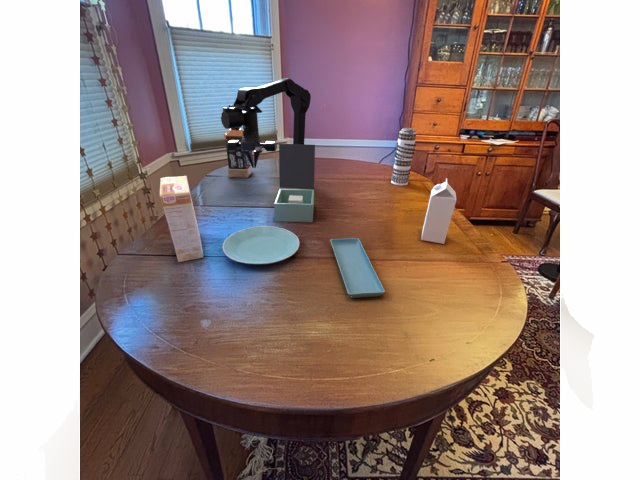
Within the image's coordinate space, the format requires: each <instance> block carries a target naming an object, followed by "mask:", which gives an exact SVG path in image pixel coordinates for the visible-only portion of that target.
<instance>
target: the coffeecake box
mask: <svg viewBox="0 0 640 480" xmlns="http://www.w3.org/2000/svg"><path fill="white" fill-rule="evenodd" d="M159 199H160V201H161V204H162V208H163V212H164V215H165V219H166V222H167V226H168V230H169V233H170V238H171V240H172V244H173V248H174V252H175V255H176V259H177V262H178V263H183V262H188V261H192V260H199V259H204V250H203V245H202V239H201V234H200V229H199V225H198V221H197V217H196V212H195V208H194V203H193V199H192V194H191V190H190V186H189V181H188V176H187V175H179V176H165V177H160V183H159Z"/></svg>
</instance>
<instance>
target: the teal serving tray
mask: <svg viewBox="0 0 640 480" xmlns="http://www.w3.org/2000/svg"><path fill="white" fill-rule="evenodd" d="M329 241H330V245H331V247H332V250H333V253H334V256H335V259H336V261H337V265H338V268H339V272H340V274H341V277H342V281H343V283H344V286H345V289H346V293H347V295H348V297H349V298H350V299H357V298H359V299H360V298H374V297H375V298H377V297H380V296H382V295H383V294H385V293H386V290H385V288H384V286H383V284H382V282H381V280H380V278H379V276H378V274H377V271H376V270H375V268H374V266H373V265H372V261H371V260H370V258H369V256H368V254H367V252H366V250H365V248H364V246H363V244H362V242H361V239H360V238H358V237H349V238H347V237H346V238H330V239H329ZM351 296H352V297H351Z"/></svg>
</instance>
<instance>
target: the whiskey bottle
mask: <svg viewBox="0 0 640 480" xmlns="http://www.w3.org/2000/svg"><path fill="white" fill-rule="evenodd" d="M232 106H233V104H229V105H228V108H232ZM242 136H243V129H241V127H239V128H229V129H228V130H227V131H226V132H225V133H224V134H223V139H224V140H225V147H226V148H225V149H226V158H227V165H228V168H227V174H228V178H240V179H241V178H242V179H244V178H245V179H247V178H249V177H250V176H251V175H252V174H253V171H252V170H253V168H252V166H251V164H250V161H249V159H248V157H247V156H246V154H245V153H242V152H241V151H242V148H236V149H235V150H227V146H226V145H227V142H229V141H230V140H239V141H240V143H241V139H242Z"/></svg>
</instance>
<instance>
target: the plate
mask: <svg viewBox="0 0 640 480" xmlns="http://www.w3.org/2000/svg"><path fill="white" fill-rule="evenodd" d="M299 248H300V238H299V237H298V236H297V235H296V234H295V233H294V232H292V231H290V230H288V229H285V228H282V227H279V226H271V225H261V226H251V227H247V228H243V229H240V230H238V231H236V232H233V233H232V234H230V235H229V236H227V237H226V238H225V240H224V241H223V243H222V251H223V253H224V255H225V256H226V257H227V258H228V259H230V260H232V261H234V262H237V263H240V264H246V265H270V264H275V263H279V262H283V261H284V260H287V259H290V258H291V257H292V256H293V255H295V254H296V253H297V252H298V251H299Z"/></svg>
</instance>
